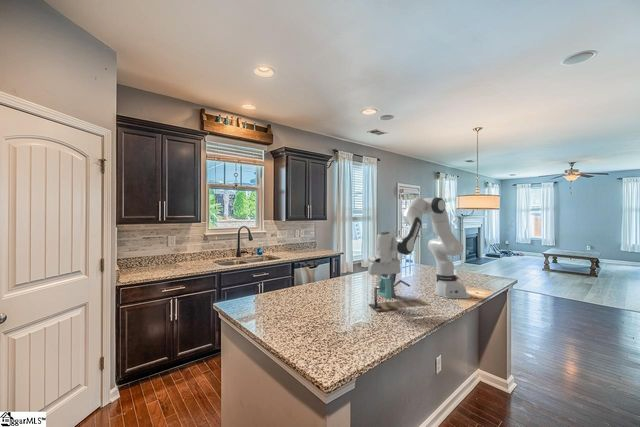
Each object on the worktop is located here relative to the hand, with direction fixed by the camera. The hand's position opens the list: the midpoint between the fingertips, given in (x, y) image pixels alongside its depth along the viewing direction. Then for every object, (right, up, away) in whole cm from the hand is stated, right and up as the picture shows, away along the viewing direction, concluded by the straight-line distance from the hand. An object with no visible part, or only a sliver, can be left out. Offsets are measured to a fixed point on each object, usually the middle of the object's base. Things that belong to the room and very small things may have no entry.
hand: (384, 281), depth 170 cm
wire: (+4, -15, +1) cm, 16 cm away
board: (+10, -16, +2) cm, 19 cm away
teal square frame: (0, -9, 0) cm, 9 cm away
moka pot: (+8, -16, +22) cm, 29 cm away
